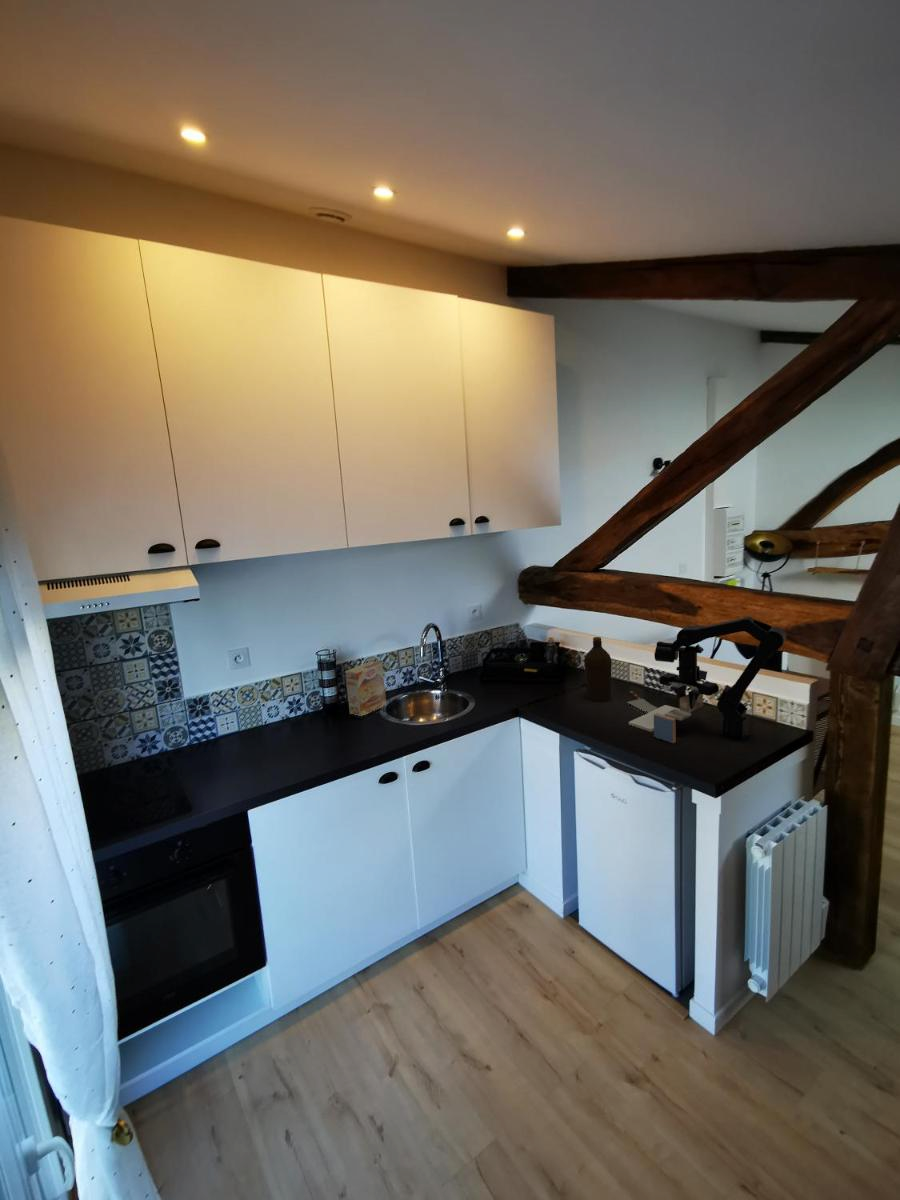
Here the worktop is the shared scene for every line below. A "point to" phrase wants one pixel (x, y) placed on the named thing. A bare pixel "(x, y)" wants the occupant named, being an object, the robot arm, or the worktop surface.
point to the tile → (665, 728)
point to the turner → (685, 708)
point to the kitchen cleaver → (641, 703)
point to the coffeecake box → (365, 688)
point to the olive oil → (598, 672)
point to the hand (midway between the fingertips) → (688, 707)
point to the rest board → (650, 718)
